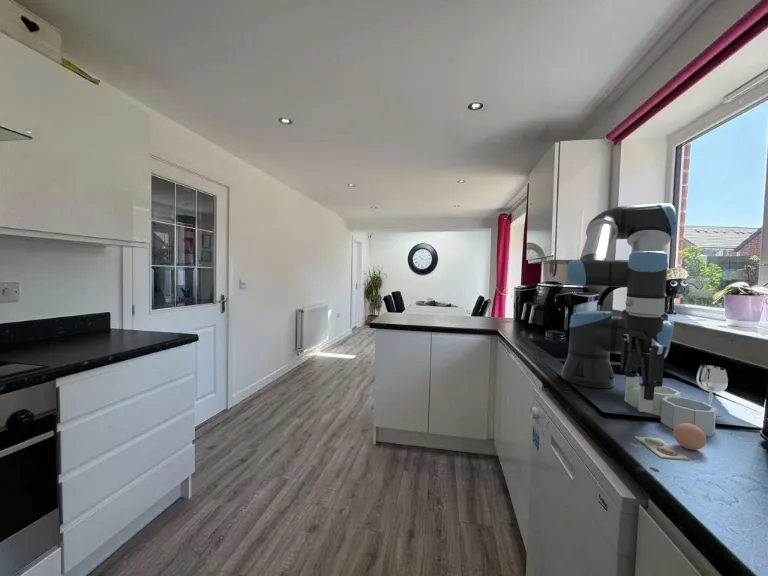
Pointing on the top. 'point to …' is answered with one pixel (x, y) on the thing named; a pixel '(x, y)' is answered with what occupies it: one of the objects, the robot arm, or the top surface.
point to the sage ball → (633, 397)
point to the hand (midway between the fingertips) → (637, 406)
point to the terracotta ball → (689, 436)
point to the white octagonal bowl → (659, 395)
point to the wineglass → (712, 380)
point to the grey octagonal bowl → (688, 413)
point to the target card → (661, 448)
